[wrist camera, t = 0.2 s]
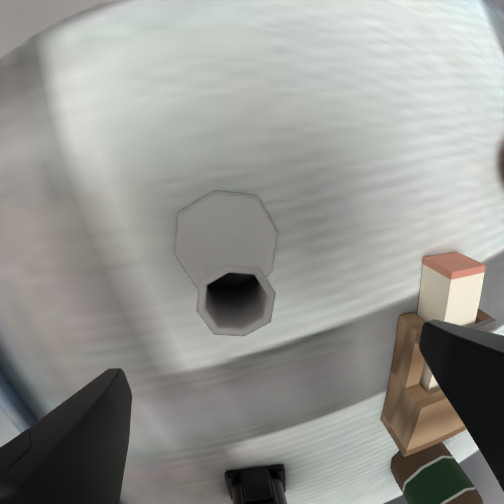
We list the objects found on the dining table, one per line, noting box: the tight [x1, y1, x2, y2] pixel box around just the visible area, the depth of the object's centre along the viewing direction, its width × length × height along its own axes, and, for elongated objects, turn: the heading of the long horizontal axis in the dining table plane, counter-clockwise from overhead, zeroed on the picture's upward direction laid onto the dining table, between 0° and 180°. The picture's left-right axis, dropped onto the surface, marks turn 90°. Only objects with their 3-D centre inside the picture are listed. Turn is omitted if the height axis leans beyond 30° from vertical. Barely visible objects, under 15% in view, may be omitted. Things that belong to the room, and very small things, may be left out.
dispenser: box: [381, 309, 496, 457], centre depth 25 cm, size 13×8×6 cm, turn 5°
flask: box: [174, 191, 278, 336], centre depth 18 cm, size 7×7×10 cm
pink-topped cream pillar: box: [417, 252, 486, 395], centre depth 25 cm, size 14×4×4 cm, turn 5°
